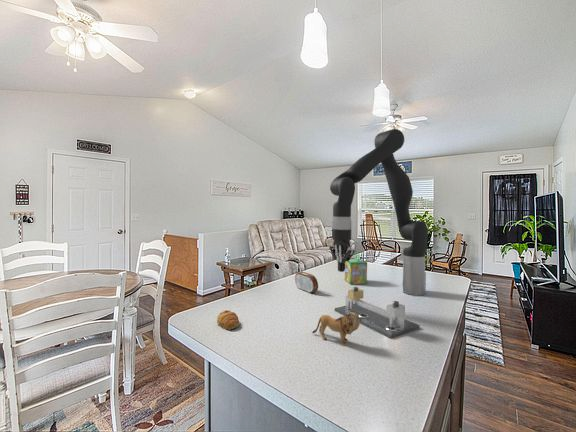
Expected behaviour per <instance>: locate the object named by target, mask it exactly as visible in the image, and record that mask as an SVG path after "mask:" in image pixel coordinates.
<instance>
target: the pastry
mask: <svg viewBox="0 0 576 432" xmlns="http://www.w3.org/2000/svg"><path fill="white" fill-rule="evenodd" d="M216 322H217V324H218V326H220V327H221V328H223V329H225V330H228V331H229V330H233V329H237V328H238V326H239V324H240V323H239V322H240V320H239V317H238V315H237V314H236V312H234V311H231V310H222V311H221V312H220V313H218V315H217V318H216Z"/></svg>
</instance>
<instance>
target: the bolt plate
mask: <svg viewBox="0 0 576 432" xmlns="http://www.w3.org/2000/svg"><path fill="white" fill-rule="evenodd" d="M334 312H336V313H338V314H340V315H342V316H345V315H347V314H348V313H351V312H353V313H356V314H357V316H359V324H360V325H362V326H365V327H366V328H369V329H371V330H373V331H374V332H377V333H378V334H380V335H383V336H385V337H387V338H388V339H393V338H396V337H398V336H402V335H405V334H407V333H410V332H414V331H415V330H418V329H420V328H421V327H420V324H417V323H415V322H413V321H410V320H408V319H405V318H404V330H401V331H400V330H398V329H397V328H396V321H394V320H393V327H390V326H389V325H390V318H387V317H385V316H383V315H380V314H378V313H375V312H373V311H371V310H368V309H366V308H364V307H361V306H359V305H356V304H354V303H353V309H350V307H347V306H346V305H343V306H338V307H334Z"/></svg>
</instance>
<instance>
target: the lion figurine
mask: <svg viewBox="0 0 576 432" xmlns="http://www.w3.org/2000/svg"><path fill="white" fill-rule="evenodd" d="M360 325H361V324H360V323H359V316H357V314H356V313H353V312H351V313H348V314H347V315H345V316H344V315H342V316H339V317H338V318H334V317H332V316H330V315H328V314H323V315H321V316H319V319H318V322H317V326H316V328H315V330H314V329H313V331H311V333H312V334H315V333H317V331H318V332H319V334H321V338H322V340H324V341H326V340H327V339H328V337H326V336H325V330H326V328H327V327H328V328H329V329H330V330H331V331H333V332H335V333H339V335H340V343H341V345H342V346H346V345H347V343H346V342H347V341H348V338H346V336H347V335H351V334H352V333H353V332H355V331H357V330H358V329H359V326H360Z"/></svg>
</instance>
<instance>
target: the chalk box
mask: <svg viewBox="0 0 576 432" xmlns="http://www.w3.org/2000/svg"><path fill="white" fill-rule="evenodd" d="M367 279H368V262H367V261H366V260H365V259H362V258H360V254H358V253H355V256H354V258H350V260H349V261H347V262H345V271H344V281H346V282H347V283H348V284H349V285H350V284H351V285H367V284H368V280H367Z"/></svg>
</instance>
